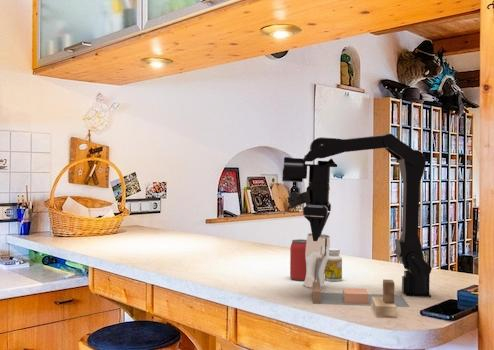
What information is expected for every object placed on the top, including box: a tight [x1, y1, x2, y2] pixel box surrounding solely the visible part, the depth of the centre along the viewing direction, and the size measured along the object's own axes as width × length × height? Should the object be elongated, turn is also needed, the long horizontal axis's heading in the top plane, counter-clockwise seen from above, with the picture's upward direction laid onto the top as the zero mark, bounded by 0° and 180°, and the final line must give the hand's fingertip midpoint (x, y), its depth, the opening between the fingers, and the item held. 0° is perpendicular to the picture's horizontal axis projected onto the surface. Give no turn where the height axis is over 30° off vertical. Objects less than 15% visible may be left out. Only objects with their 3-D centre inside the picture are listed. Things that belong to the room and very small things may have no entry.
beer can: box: [289, 238, 307, 282], centre depth 165 cm, size 7×7×12 cm
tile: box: [342, 287, 369, 304], centre depth 138 cm, size 6×6×2 cm
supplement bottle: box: [324, 247, 343, 282], centre depth 164 cm, size 5×5×10 cm
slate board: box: [312, 282, 410, 308], centre depth 139 cm, size 24×12×3 cm, turn 83°
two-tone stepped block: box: [370, 279, 397, 319], centre depth 127 cm, size 5×9×8 cm, turn 173°
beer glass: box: [303, 232, 331, 289], centre depth 154 cm, size 7×7×15 cm
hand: (316, 238), depth 147 cm, fingers open, 8 cm apart
